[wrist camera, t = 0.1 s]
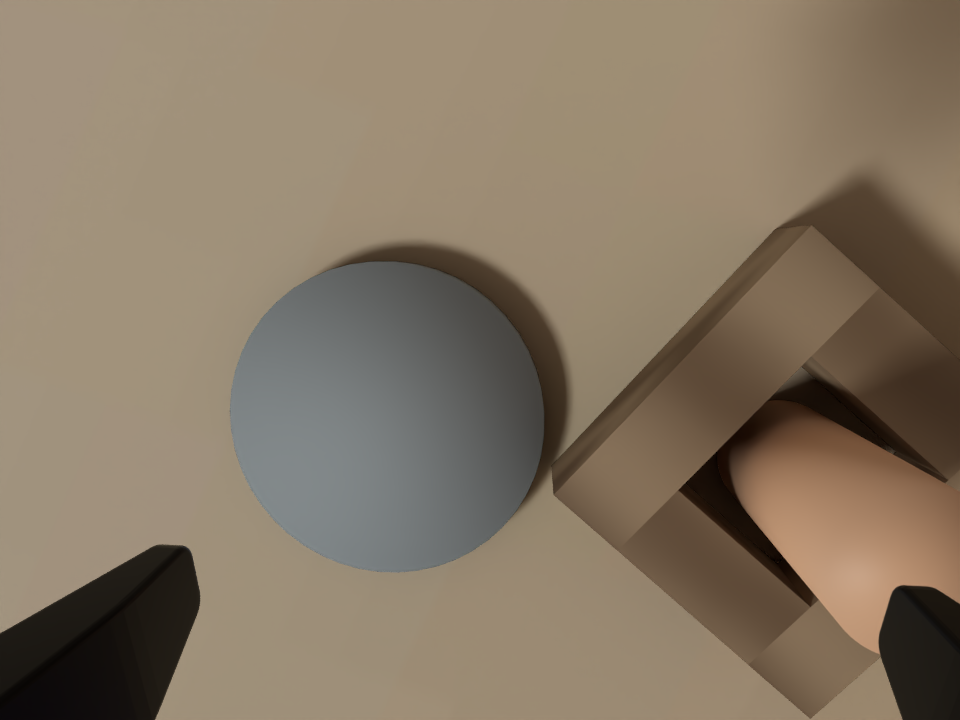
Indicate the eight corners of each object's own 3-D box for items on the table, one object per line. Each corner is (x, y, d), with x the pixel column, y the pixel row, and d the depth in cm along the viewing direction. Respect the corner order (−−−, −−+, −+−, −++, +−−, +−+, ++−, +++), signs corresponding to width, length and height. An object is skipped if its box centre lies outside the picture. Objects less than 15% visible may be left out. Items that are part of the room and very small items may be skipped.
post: (776, 533, 24) (916, 695, 15) (693, 460, 24) (785, 579, 15) (861, 452, 24) (1059, 572, 15) (776, 376, 23) (923, 450, 14)
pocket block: (777, 663, 25) (810, 718, 22) (551, 466, 24) (553, 495, 21) (1015, 447, 23) (1086, 475, 20) (775, 228, 23) (811, 224, 20)
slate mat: (408, 617, 26) (403, 631, 25) (183, 425, 25) (169, 432, 24) (609, 404, 24) (612, 411, 23) (371, 194, 23) (363, 191, 22)
